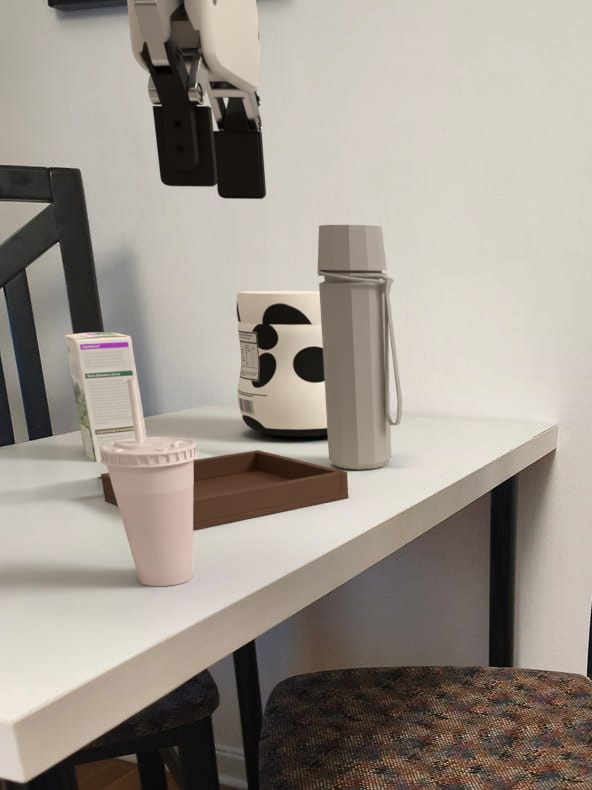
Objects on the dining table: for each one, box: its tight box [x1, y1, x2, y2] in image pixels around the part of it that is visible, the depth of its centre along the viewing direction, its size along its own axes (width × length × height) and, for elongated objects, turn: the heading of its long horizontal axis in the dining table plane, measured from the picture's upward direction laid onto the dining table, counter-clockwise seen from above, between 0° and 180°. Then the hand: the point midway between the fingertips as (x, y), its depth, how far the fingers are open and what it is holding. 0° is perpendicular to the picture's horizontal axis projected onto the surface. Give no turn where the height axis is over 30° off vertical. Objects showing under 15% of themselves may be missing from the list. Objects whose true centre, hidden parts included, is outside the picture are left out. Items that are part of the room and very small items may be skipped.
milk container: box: [236, 290, 328, 438], centre depth 119 cm, size 17×17×18 cm
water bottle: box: [316, 224, 403, 471], centre depth 97 cm, size 9×8×25 cm
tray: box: [100, 449, 349, 531], centre depth 87 cm, size 18×16×3 cm
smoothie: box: [100, 379, 199, 587], centre depth 62 cm, size 6×6×14 cm
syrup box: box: [64, 331, 148, 479], centre depth 95 cm, size 6×6×14 cm
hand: (218, 192), depth 56 cm, fingers open, 9 cm apart
